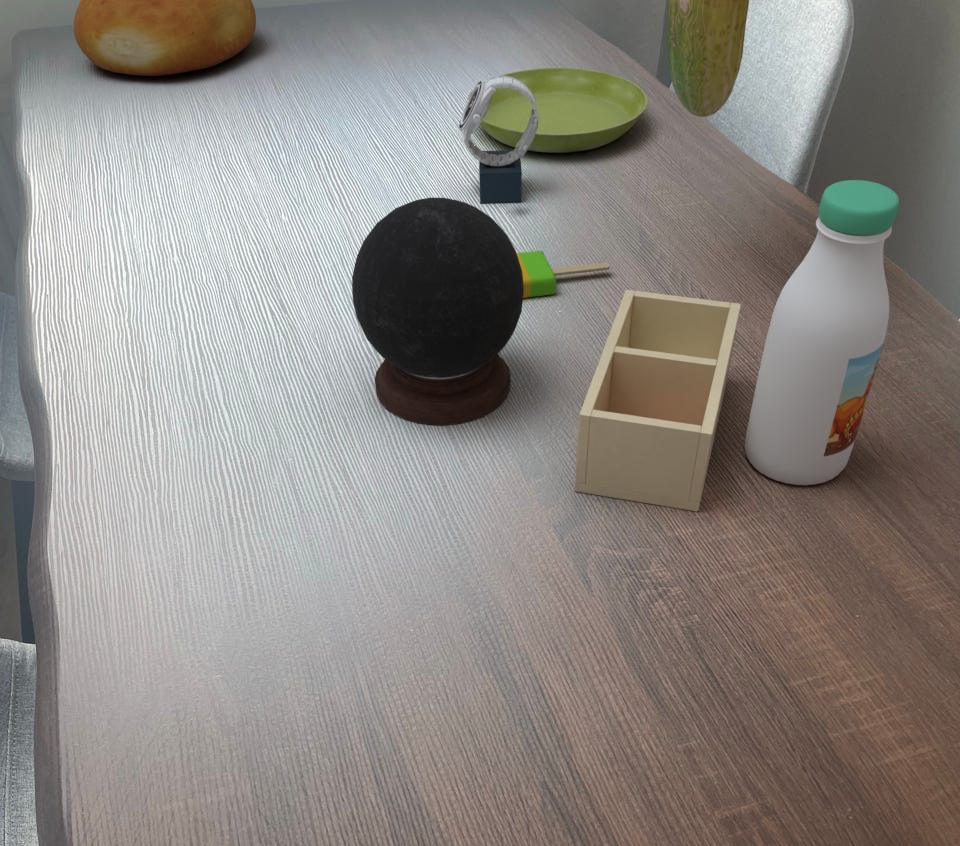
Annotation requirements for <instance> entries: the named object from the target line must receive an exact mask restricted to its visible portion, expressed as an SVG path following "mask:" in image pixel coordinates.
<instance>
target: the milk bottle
mask: <svg viewBox="0 0 960 846" xmlns="http://www.w3.org/2000/svg"><path fill="white" fill-rule="evenodd" d="M899 206H900V198H899V196H898V194H897V193H896V192H895V191H894V190H893V189H891V188H890V187H888V186H886V185H884V184H882V183H879V182H878V183H877V182H874V181H870V180H863V179H862V180H861V179H847V180H841V181H837V182H834V183H833V184H831V185H829V186H826V188H825V190H824V191H823V193H822V195H821V199H820V202H819V208H818V217H817V219H816V220H815V227H816V229H817V234H816V236H815V239H814V241H813V243H812V245H811V247H810V248H809V250H808V252H807V254H806V255H805V257H804V258H803V260H802V261H801V263H800V264H799V265H798V267H797V268H796V269H795V270H794V272H793V273H792V275H790V277H789V278H788V280H787V281H786V283H785V284H784V286H783V287H782V289H781V292H780V294H779V296H778V298H777V301H776V303H775V305H774V309H773V311H772V315H771V318H770V323H769V326H768V331H767V335H766V339H765V343H764V348H763V352H762V356H761V362H760V365H759V371H758V375H757V379H756V385H755V390H754V394H753V399H752V403H751V409H750V413H749V417H748V422H747V427H746V432H745V433H746V434H745V439H744V452H745V455H746V457H747V459H748V461H749V463H750V464H751V465H752V467H753V468H754V469H756V470H757V471H758V472H759V473H760V474H762V475H765V476H766V477H768V478H769V479H772V480H774V481H777V482H781V483H784V484H790V485H795V486H811V485H818V484H819V485H820V484H823V483H826V482H828V481H831V480H833V479H834V478H836V477H837V476H838V475H840V473H841V472H842V471H843V470H844V469H846V467H847V465H848V462H849V460H850V457H851V454H852V451H853V448H854V445H855V442H856V438H857V435H858V432H859V429H860V426H861V422H862V419H863V416H864V412H865V409H866V405H867V402H868V399H869V396H870V392H871V390H872V385H873V382H874V378H875V375H876V373H877V368H878V365H879V362H880V359H881V355H882V351H883V347H884V343H885V339H886V336H887V333H888V325H889V320H890V319H889V318H890V295H889V290H888V285H887V280H886V274H885V266H884V247H885V241H886V239H888V238H889V237H890V236H891V234H892V233H893V232H892V231H893V229H892V227H893V225H894V223H895V221H896V217H897V214H898V210H899Z"/></svg>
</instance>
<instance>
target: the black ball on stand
mask: <svg viewBox="0 0 960 846" xmlns="http://www.w3.org/2000/svg"><path fill="white" fill-rule="evenodd" d="M517 253H518V252H517V251H516V248H515V247H514V245H513V243H512V241H511V240H510V238H509V236H508V234H507V233H506V232H505V231H504V229H503V228H502V227H501V226H500V225H499V224H498V223H497V222H496V221H495V220H494V218H492V217H491V216H489V215H488V214H487V213H486V212H484V211H483V210H481V209H479V208H477V207H476V206H474V205H472V204H469V203H467V202H465V201H461V200H458V199H457V200H456V199H452V198H449V197H426V198H420V199H419V198H418V199H415V200H413V201H410V202H407V203H404V204H403V205H400V206H398V207H395V208H394V209H392V211H390V212H389V213H388V214H387V215H385V216H384V217H382V218H381V219H380V220H379V221H377V222H376V224H375V225H374V226H373V227H372V228H371V230H370V232H369V233H368V234H367V235H366V237H365V238H364V240H363V242H362V243H361V246H360V248H359V251H358V253H357V255H356V259H355V262H354V267H353V272H352V277H351V294H352V304H353V307H354V312H355V318H356V319H357V322H358V324H359V326H360V328H361V330H362V332H363V333H364V337H365V338H366V340H367V341H368V343H369V344H370V345H371V347H372V348H373V349H374V350H375V351H376V353H378V354H379V356H381V357H382V359H384V360H383V361H382V363H380V365H379V367H378V368H377V370H376V372H375V376H374V387H375V396H376V397H377V400H378V402H379V403H380V404H381V405H382V406H383V408H385V410H386V411H388V412H390V413H391V414H393V415H394V416H396V417H398V418H401V419H403V420H404V421H408V422H412V423H416V424H422V425H428V426H449V425H459V424H463V423H467V422H472V421H474V420H477V419H481V418H483V417H485V416H487V415H488V414H491V413H492V412H494V411H495V410H496V409H498V408H499V407H500V406H501V405H502V404H503V403H504V402H505V401H506V399H507V398H508V395H509V393H510V391H511V382H512V381H511V379H512V378H511V377H512V374H511V371H510V367H509V366H508V364H507V363H506V361H505V360H504V359H503V358H502V357H501V356H500V353H501V351H502V350H504V348H505V347H506V346H507V344H508V342H509V340H511V338H512V336H513V334H514V332H515V330H516V329H517V326H518V322H519V319H520V317H521V315H522V311H523V304H524V303H523V302H524V298H523V293H524V284H523V273H522V269H521V266H520V263H519V260H518V256H517Z"/></svg>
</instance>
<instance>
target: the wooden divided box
mask: <svg viewBox="0 0 960 846" xmlns="http://www.w3.org/2000/svg"><path fill="white" fill-rule="evenodd" d="M741 308H742V304H741V303H737V302H729V301H720V300H714V299H704V298H697V297H689V296H681V295H680V296H679V295H672V294H665V293H656V292H650V291H649V292H647V291H640V290H631V289H626V290H625V291H624V293H623V296H622V299H621V301H620V304H619V307H618V308H617V312H616V314H615V317H614V320H613V322H612V325H611V328H610V330H609V334H608V336H607V339H606V342H605V344H604V347H603V350H602V352H601V355H600V358H599V360H598V363H597V365H596V368H595V371H594V373H593V376H592V378H591V382H590V384H589V387H588V389H587V393H586V395H585V398H584V400H583V403H582V406H581V408H580V411H579V414H578V428H577V443H576V459H575V473H574V474H575V476H574V492H577V493H583V494H588V495H595V496H599V497H607V498H611V499H612V498H613V499H619V500H625V501H630V502H637V503H643V504H648V505H656V506H661V507H666V508H673V509H680V510H685V511H690V512H696V513H699V511H700V506H701V502H702V497H703V491H704V489H705V483H706V479H707V474H708V469H709V464H710V460H711V457H712V456H711V455H712V452H713V446H714V442H715V437H716V434H717V433H716V432H717V428H718V423H719V419H720V415H721V410H722V406H723V401H724V396H725V392H726V387H727V382H728V377H729V372H730V368H731V367H730V366H731V362H732V356H733V350H734V346H735V339H736V335H737V329H738V324H739V318H740V312H741Z"/></svg>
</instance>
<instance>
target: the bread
mask: <svg viewBox="0 0 960 846" xmlns="http://www.w3.org/2000/svg"><path fill="white" fill-rule="evenodd" d="M256 27H257V14H256V9H255V5H254V3H253V1H252V0H80V1H79V3H78V5H77V7H76V10H75V13H74V18H73V35H74V36H73V37H74V40H76V44H77V46H78V47H79V49H80V51H81V52H82V53H83V55H84V56H85V57H86V58H87V59H88V60H89V61H90V62H91V63H93V64H94V65H95V66H97V67H99V68H100V69H103V70H106V71H109V72H112V73H118V74H124V75H130V76H142V77H157V76H161V77H162V76H169V75H176V74H183V73H188V72H192V71H199V70H203V69H207V68H211V67H214V66H216V65H219V64H222V63H224V62H225V61H228V60H229V59H231V58H234V57H235V56H237V54H239V53H241V52H242V51H243V50H245V48H246V47H247V46H249V44H250V43H251V42H252V40H253V37H254V35H255V31H256Z"/></svg>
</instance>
